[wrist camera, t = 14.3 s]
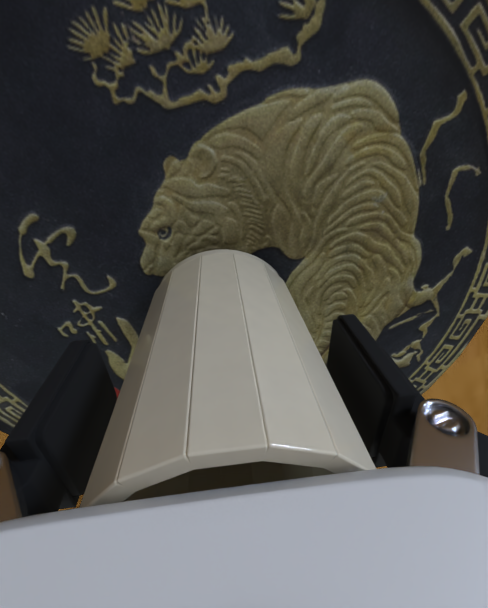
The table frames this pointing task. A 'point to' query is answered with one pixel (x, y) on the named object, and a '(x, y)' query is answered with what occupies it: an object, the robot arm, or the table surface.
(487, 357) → the table surface
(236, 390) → the cup
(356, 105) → the decorative plate
